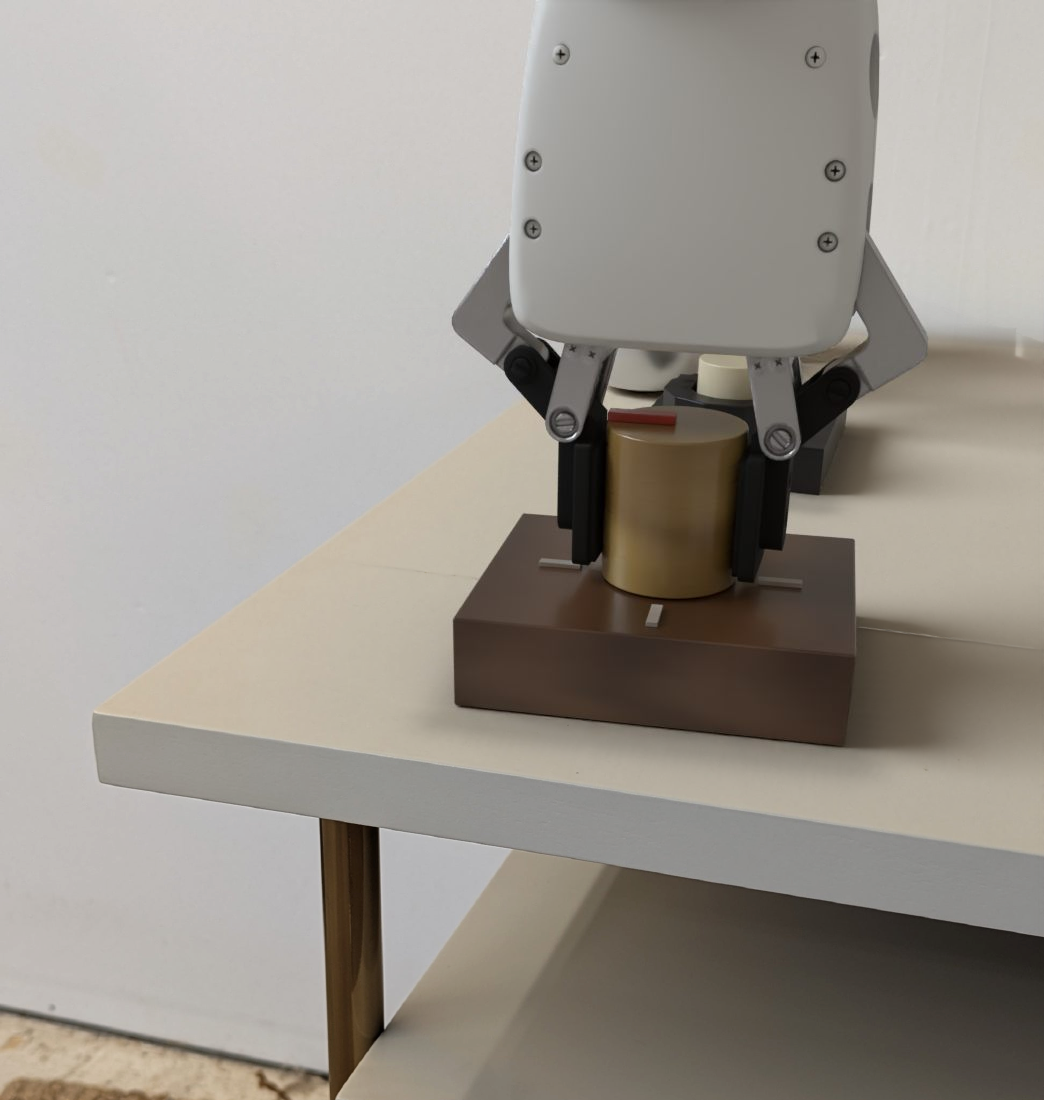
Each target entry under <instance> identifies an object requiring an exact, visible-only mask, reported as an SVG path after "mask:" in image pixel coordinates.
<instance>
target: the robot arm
mask: <svg viewBox="0 0 1044 1100" xmlns="http://www.w3.org/2000/svg"><path fill="white" fill-rule="evenodd" d="M879 20H880V19H879V5H878V0H535V3H534V9H533V14H532V20H531V25H530V31H529V37H528V44H527V49H526V51H527V52H526V57H525V62H524V63H525V64H524V72H523V78H522V85H521V94H520V102H519V112H518V121H517V128H516V129H517V130H516V139H515V149H514V150H515V151H514V162H513V163H514V164H513V175H512V186H511V187H512V188H511V203H510V204H511V205H510V219H509V222H510V223H509V231H508V233H507V234H506V236H505V237H504V239H503V240H502V242H501V243H500V244H499V246H498V248H497V249H496V250H495V252H494V253H493V255H492V256H491V257H490V259H489V260H488V262H487V263H486V265H485V267H484V268H483V269H482V270H481V272H480V274H479V275H478V277H477V278H476V279H475V281H474V283H473V284H472V286H471V287H470V288H469V289H468V291H467V293H466V294H465V295H464V297H463V298H462V300H461V301H460V303H458V305H457V307H456V308H455V310H454V312H453V314H452V316H451V326H452V328H453V331H454V332H455V333H456V335H457V336H459V338H461V339H462V340H463V341H464V342H465V343H466V344H468V345H469V346H470V347H472V348H473V349H474V350H475V351H476V352H478V353H479V354H480V355H481V356H482V357H483V358H485V359H486V360H487V361H489V362H490V363H491V364H492V365H493V366H497V367H498V368H500V370H502V371H503V372H504V375H505V377H506V378H507V380H508V381H509V382H510V383H511V385H513V387H514V388H515V389H516V390H517V391H518V392H519V393H520V394H521V395H522V397H523V398H524V399H525V400H526V401H527V402H528V403H529V405H530V406H531V407H532V408H533V409H534V410H535V412H537V413H538V415H539V416H541V418H542V419H543V420H544V425H545V429H546V431H547V433H548V435H549V436H550V437H551V438H552V439H553V440H555V441H557V442H558V443H557V444H558V445H557V447H558V448H557V494H556V495H557V496H556V497H557V499H556V500H557V501H556V503H557V504H556V508H557V509H556V516H557V523H558V527H559V528H560V529H568V530H572V563H573V564H577V565H587V566H589V565H590V563H591V562H596V560H597V559H598V557H599V556H600V554H601V553H602V539H603V510H604V480H605V451H606V424H607V421H608V412H609V410H608V409H607V408H606V406H605V405H604V401H605V397H606V395H607V394H606V393H607V390H608V387H609V386H608V383H609V379H610V376H611V372H612V368H613V365H614V361H615V357H616V354H617V350H618V348H626V349H640V350H654V351H669V352H685V353H701V354H717V355H733V356H746V361H747V367H748V374H749V380H750V386H751V392H752V399H753V405H754V411H755V418H756V424H757V425H756V427H755V429H754V431H753V433H752V437H751V441H750V443H749V445H748V447H747V449H746V452H745V454H744V456H743V458H742V460H741V465H740V473H739V485H738V498H737V510H736V523H735V535H734V548H733V560H732V573H731V575H732V577H737V581H738V582H747V583H754V582H755V579H756V576H757V573H758V570H759V567H760V564H761V561H762V558H763V555H764V549H768V550H778V551H782V550H783V546H784V542H785V536H786V534H787V529H788V528H787V527H788V521H789V519H788V518H789V511H790V500H791V499H790V498H791V493H790V490H791V480H792V470H793V460H794V455H795V453H796V452H797V451H798V449H799V447H801V446H802V445H803V444H804V443H806V442H807V441H808V440H809V439H810V438H812V437H813V436H814V435H815V434H817V433H818V432H819V431H820V430H822V429H823V428H824V427H825V426H827V425H828V424H829V423H830V422H832V421H833V420H834V419H835V418H837V417H838V416H839V415H840V414H842V413H843V412H844V411H845V410H846V409H847V410H848V409H849V408H850V407H851V406H853V405H854V404H855V402H856V401H857V400H859V399H861V398H863V397H864V396H867V395H868V394H869V393H871V392H872V393H873V392H875V391H877V390H878V389H880V388H882V387H884V386H885V385H887V384H888V383H890V382H891V381H893V380H895V379H897V378H899V377H900V376H902V375H904V374H906V373H908V372H909V371H911V370H912V369H914V368H916V367H918V366H919V365H921V364H922V363H923V362H924V361H925V359H926V357H927V355H928V350H929V336H928V333H927V331H926V329H925V327H924V326H923V324H922V322H921V321H920V319H919V317H918V315H917V313H916V312H915V310H914V309H913V307H912V305H911V304H910V302H909V300H908V298H907V297H906V295H905V293H904V290H903V289H902V288H901V286H900V284H899V283H898V281H897V279H896V277H895V276H894V274H893V273H892V270H891V269H890V267H889V265H888V264H887V261H886V260H885V258H884V257H883V255H882V253H881V252H880V249H879V248H878V246H877V244H876V243H875V241H874V239H873V238H872V235H871V233H870V231H871V219H872V209H873V208H872V206H873V193H874V182H875V181H874V180H875V179H874V178H875V165H876V150H877V136H878V135H877V133H878V118H879V99H880V25H879V24H880V21H879ZM856 312H857V314H858V316H859V318H860V319H861V321H862V323H863V325H864V327H865V328H866V331H867V338H866V339H865V340H864V341H862V342H861V343H860V344H858V345H856V346H855V347H854V348H853V349H851V350H850V351H848V352H847V353H845V354H843V355H842V356H840V357H836V358H833V359H832V360H830V361H829V362H827V364H825V365H824V366H823V367H822V368H821V369H819V370H817V372H815V374H813V375H812V376H810V378H808V379H807V380H806V381H805V382H804V374H803V369H802V361H801V360H802V359H801V358H803V357H808V356H809V357H810V356H813V355H817V354H821V353H823V352H825V351H828V350H830V349H831V348H834V347H836V346H837V345H838V344H839V343H841V342H842V341H843V339H844V338H845V337H846V335H847V333H848V331H849V328H850V325H851V322H852V318H853V317H854V316H855V314H856ZM536 336H538V337H536ZM545 339H546V340H545ZM548 340H549V341H551V342H556V343H561V344H563V348H562V352H561V355H560V354H559V353H558V352H557V351H556V349H554V348H553V346H551V345H550V343H548V342H547V341H548Z"/></svg>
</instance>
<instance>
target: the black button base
mask: <svg viewBox="0 0 1044 1100" xmlns="http://www.w3.org/2000/svg"><path fill="white" fill-rule="evenodd" d="M697 385H698V373H697V374H696V373H695V374H691V375H688V374H680V375H679V376H678V378H674V379H671V380H670V381H669V382H668V384H667V385H666V386H665V387H664V390H663V392H662V394H661V395H659V397H658V398H657V399H656V400H655V402H654V403H653V404H651V406H650V407H652V406H687V407H698V408H705V409H711V410H717V411H721V412H725V413H728V414H731V415H733V416H736V417H738V418H740V419H742V420H743V421H745V422H746V423H747V425H748V428H749V431H748V443H747V447H748V445H749V443H750V441H751V437H752V433H753V431H754V429H755V427H756V425H757V424H756V418H755V411H754V405H753V400H733V399H721V398H714V397H709V396H705V395H701V394H698V393H697ZM847 415H848V409H846V410H845V411H844V412H843V413H842V414H840V415H839V416H838V417H837V418H835V419H834V420H833V421H832V422H830V423H829V424H828V425H827V426H825V427H824V428H823V429H822V430H820V431H819V432H818V433H817V434H815V435H814V436H813V437H812V438H810V439H809V440H808V441H807V442H806V443H804V444H803V445H802V446H801V447H799V449H798V451H797V452H796V453H795V455H794V460H793V470H792V480H791V490H790V494H801V495H812V496H820V494H821V492H822V489H823V487H824V484H825V481H826V479H827V476H828V473H829V471H830V468H831V466H832V463H833V460H834V458H835V455H836V452H837V450H838V448H839V444H840V442H841V440H842V437H843V434H844V431H845V429H846V425H847Z"/></svg>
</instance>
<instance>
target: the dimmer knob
mask: <svg viewBox="0 0 1044 1100" xmlns="http://www.w3.org/2000/svg"><path fill="white" fill-rule="evenodd" d="M651 406H652V405H651ZM651 406H641V407H635V408H622V407H621V408H620V407H619V408H618V407H610V408H609V410H608V412H607V420H608V421H607V424H606V451H605V480H604V510H603V539H602V568H601V569H602V574H603V576H604V578H605V579H606V580H607V581H608V582H609V583H610V584H612V585H613V586H615V587H617V588H619V589H621V590H624V591H627V592H630V593H633V594H638V595H642V596H648V597H655V598H666V599H687V598H697V597H704V596H708V595H713V594H716V593H719V592H721V591H724V590H725V589H727V588H729V587H730V586H731V585H732V584H733V583H734V582H735V580H736V577H732V575H731V573H732V560H733V548H734V535H735V523H736V510H737V498H738V485H739V473H740V465H741V460H742V458H743V456H744V454H745V452H746V449H747V443H748V431H749V428H748V425H747V423H746V422H745V421H743V420H742V419H740V418H738V417H736V416H733V415H731V414H728V413H725V412H721V411H717V410H711V409H705V408H698V407H687V406H652V407H651Z"/></svg>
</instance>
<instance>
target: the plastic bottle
mask: <svg viewBox="0 0 1044 1100" xmlns="http://www.w3.org/2000/svg"><path fill="white" fill-rule="evenodd" d="M701 355H703V354H701V353H685V352H669V351H654V350H640V349H626V348H618V350H617V354H616V357H615V361H614V365H613V368H612V372H611V376H610V379H609V383H608V386H607V387H612V388H617V389H622V390H625V391H626V390H627V391H631V392H638V393H639V392H640V393H654V392H661V391H662V392H664V387H665V386H666V385H667V384H668V382H669V381H670V380H671V379H674V378H678V376H679V375H680V374H688V375H691V374H695V373H696V374H697V373H698V369H699V358H700V356H701Z"/></svg>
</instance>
